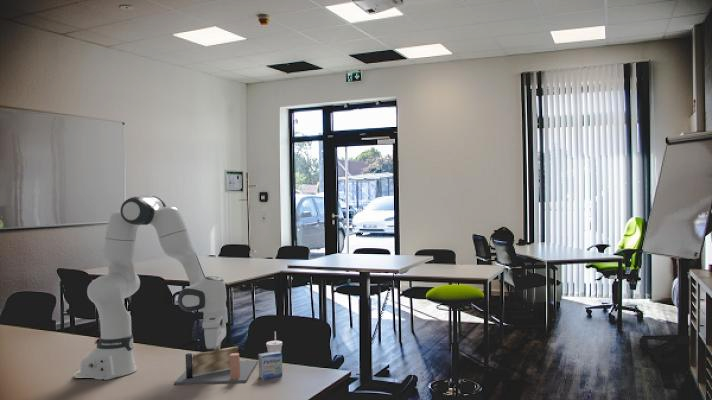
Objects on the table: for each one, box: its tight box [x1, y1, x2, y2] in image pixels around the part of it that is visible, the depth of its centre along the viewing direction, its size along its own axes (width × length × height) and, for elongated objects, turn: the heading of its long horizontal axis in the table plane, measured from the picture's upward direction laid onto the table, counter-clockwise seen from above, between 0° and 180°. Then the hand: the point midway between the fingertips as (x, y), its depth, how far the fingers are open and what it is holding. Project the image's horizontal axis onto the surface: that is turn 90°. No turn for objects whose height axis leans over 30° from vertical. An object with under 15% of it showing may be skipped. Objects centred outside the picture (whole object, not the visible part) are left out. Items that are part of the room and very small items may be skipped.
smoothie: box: [265, 331, 283, 353], centre depth 214 cm, size 6×6×14 cm
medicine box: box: [257, 351, 283, 380], centre depth 203 cm, size 8×4×9 cm, turn 117°
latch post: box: [230, 352, 241, 379], centre depth 199 cm, size 3×2×10 cm
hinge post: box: [185, 352, 193, 379], centre depth 202 cm, size 2×2×10 cm
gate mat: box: [173, 360, 259, 385], centre depth 209 cm, size 26×24×1 cm
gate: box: [192, 346, 239, 375], centre depth 207 cm, size 17×2×8 cm, turn 123°
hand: (217, 354), depth 210 cm, fingers closed
